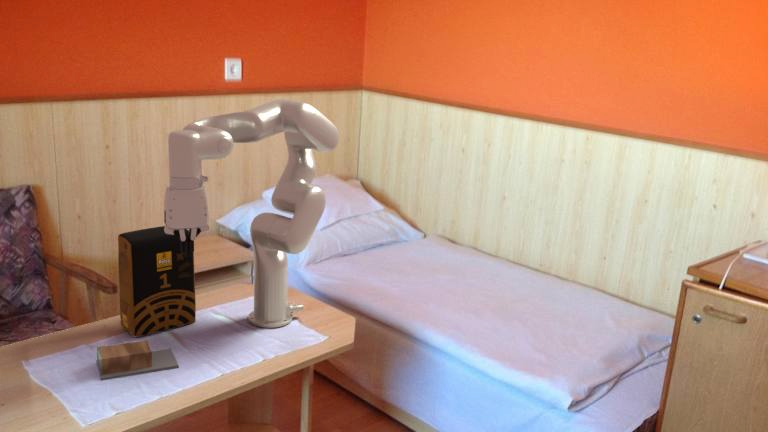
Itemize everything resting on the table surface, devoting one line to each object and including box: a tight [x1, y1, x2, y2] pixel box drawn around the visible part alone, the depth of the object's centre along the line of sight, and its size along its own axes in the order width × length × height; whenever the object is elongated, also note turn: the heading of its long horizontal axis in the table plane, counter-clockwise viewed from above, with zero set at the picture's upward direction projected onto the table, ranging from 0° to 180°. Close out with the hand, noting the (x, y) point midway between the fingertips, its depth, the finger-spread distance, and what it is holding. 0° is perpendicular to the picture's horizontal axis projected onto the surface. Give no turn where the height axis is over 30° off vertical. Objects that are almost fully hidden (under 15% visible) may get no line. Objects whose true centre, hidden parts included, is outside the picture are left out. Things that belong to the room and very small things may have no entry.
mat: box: [96, 347, 180, 381], centre depth 180 cm, size 18×10×1 cm, turn 116°
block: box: [95, 339, 153, 376], centre depth 178 cm, size 4×7×12 cm
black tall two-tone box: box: [117, 225, 197, 338], centre depth 199 cm, size 11×19×28 cm, turn 130°
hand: (187, 254), depth 179 cm, fingers closed
